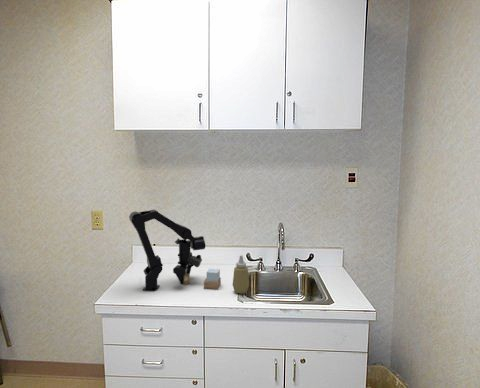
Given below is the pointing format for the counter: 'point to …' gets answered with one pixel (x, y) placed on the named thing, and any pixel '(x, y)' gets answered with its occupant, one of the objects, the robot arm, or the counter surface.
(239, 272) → the squeeze bottle
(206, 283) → the walnut base block
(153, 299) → the counter surface
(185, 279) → the tan wooden cylinder
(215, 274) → the blue-grey square block
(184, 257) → the robot arm
